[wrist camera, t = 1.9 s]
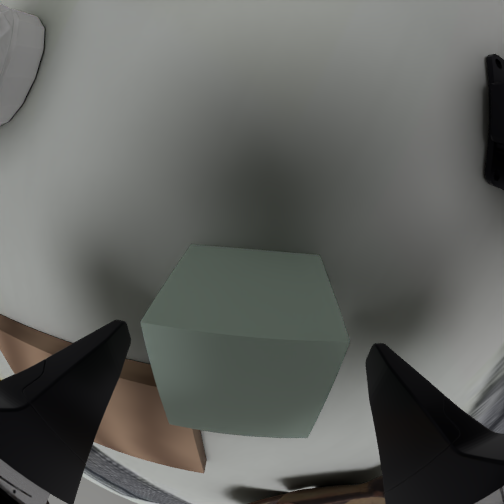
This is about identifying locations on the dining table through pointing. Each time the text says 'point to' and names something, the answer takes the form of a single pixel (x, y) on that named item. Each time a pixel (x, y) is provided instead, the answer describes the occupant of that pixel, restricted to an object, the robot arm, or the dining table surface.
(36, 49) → the white cup
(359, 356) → the dining table surface
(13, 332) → the walnut board
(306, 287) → the sage cube
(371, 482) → the oil lamp
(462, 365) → the dining table surface
